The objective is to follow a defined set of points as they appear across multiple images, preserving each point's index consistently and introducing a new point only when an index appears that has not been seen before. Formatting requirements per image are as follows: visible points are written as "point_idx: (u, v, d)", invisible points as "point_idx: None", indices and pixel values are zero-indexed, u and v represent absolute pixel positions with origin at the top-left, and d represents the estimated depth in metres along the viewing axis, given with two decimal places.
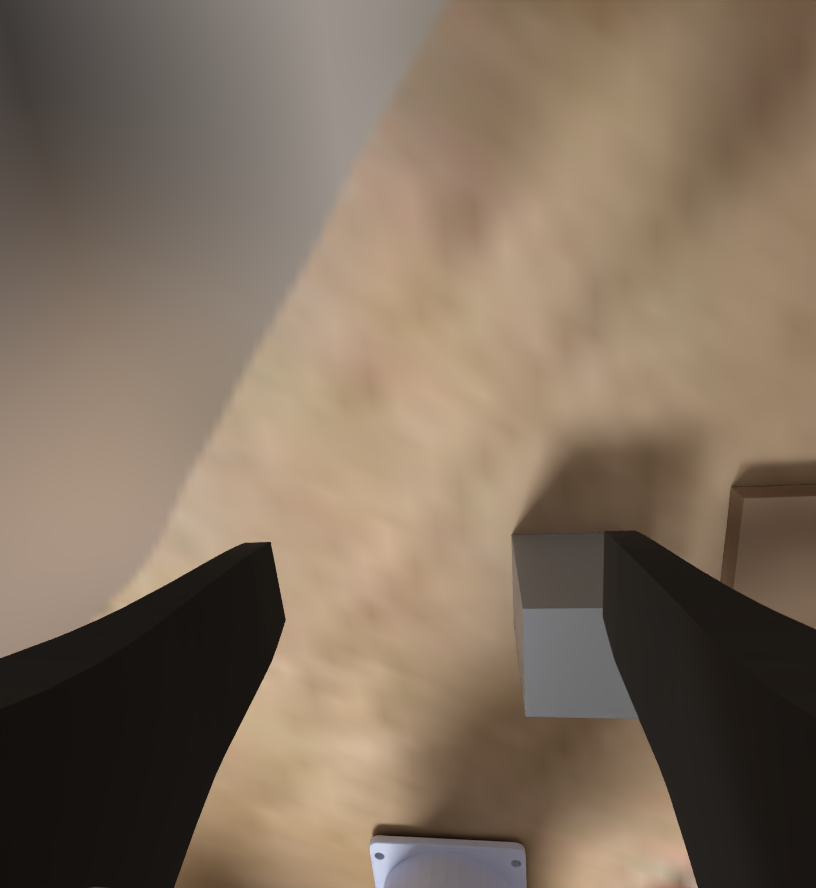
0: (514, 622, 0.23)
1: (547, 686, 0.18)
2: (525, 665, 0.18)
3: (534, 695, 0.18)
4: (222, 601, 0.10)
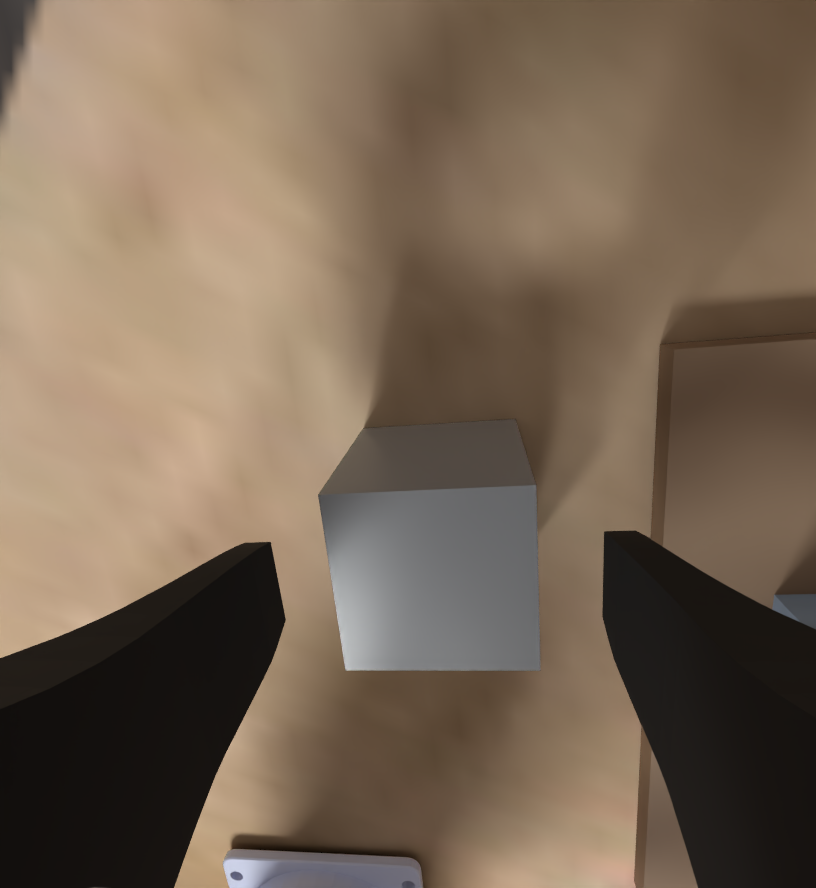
0: None
1: (370, 621, 0.12)
2: (334, 588, 0.12)
3: (354, 636, 0.12)
4: (222, 601, 0.10)
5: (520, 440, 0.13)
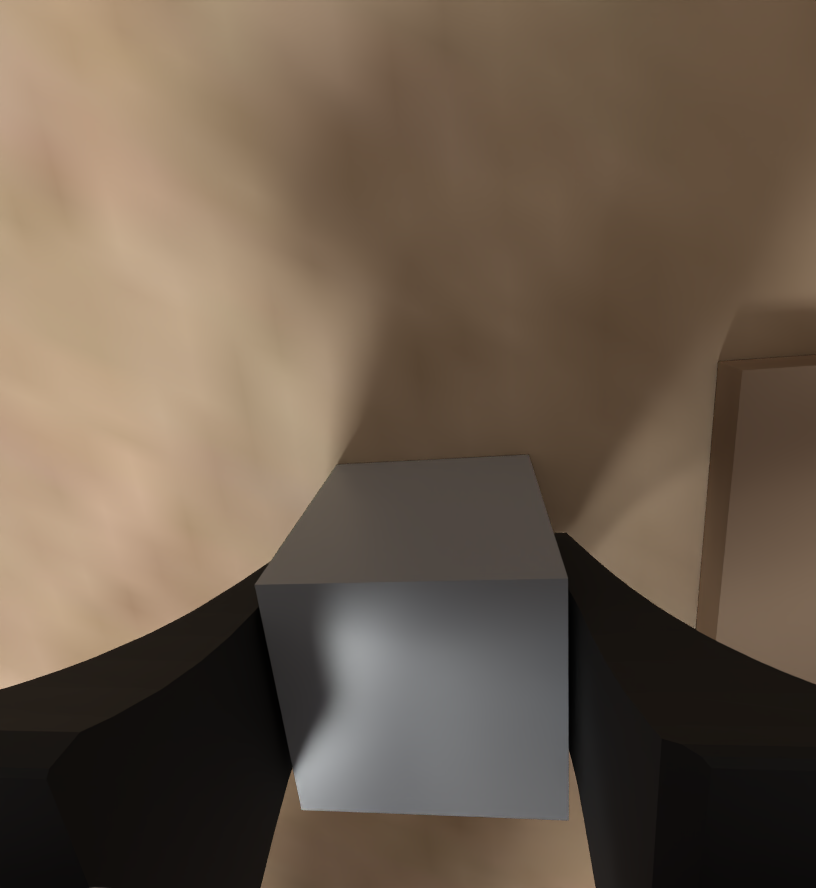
0: None
1: (333, 750, 0.08)
2: (282, 707, 0.08)
3: (311, 768, 0.09)
4: None
5: (538, 491, 0.10)
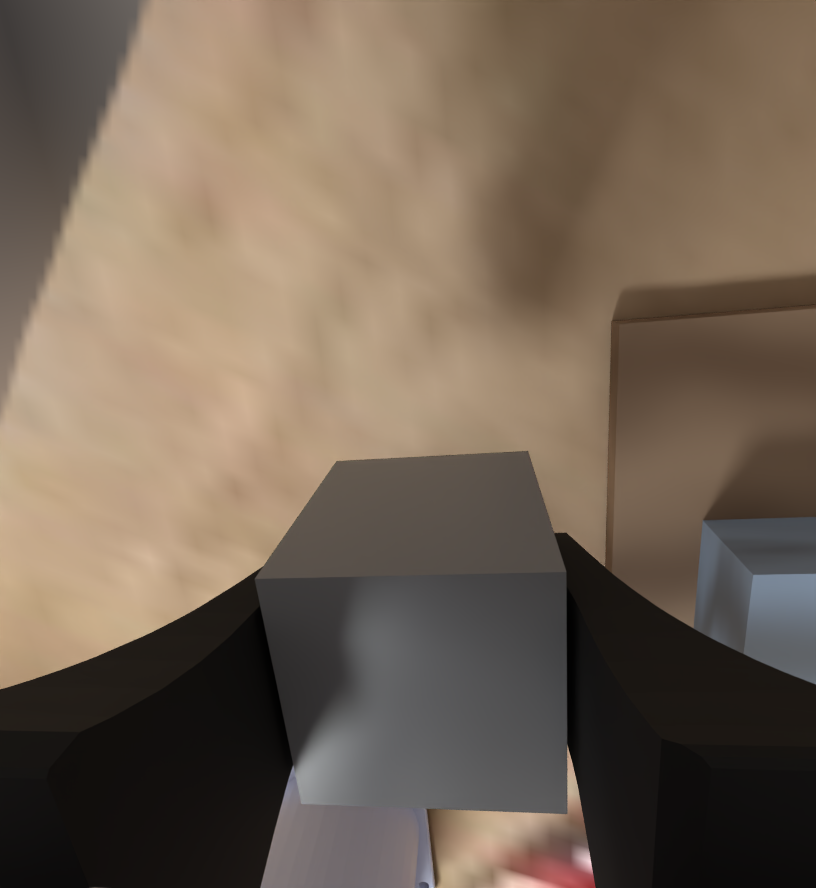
0: None
1: (334, 744, 0.09)
2: (282, 701, 0.08)
3: (311, 762, 0.09)
4: None
5: (537, 487, 0.10)
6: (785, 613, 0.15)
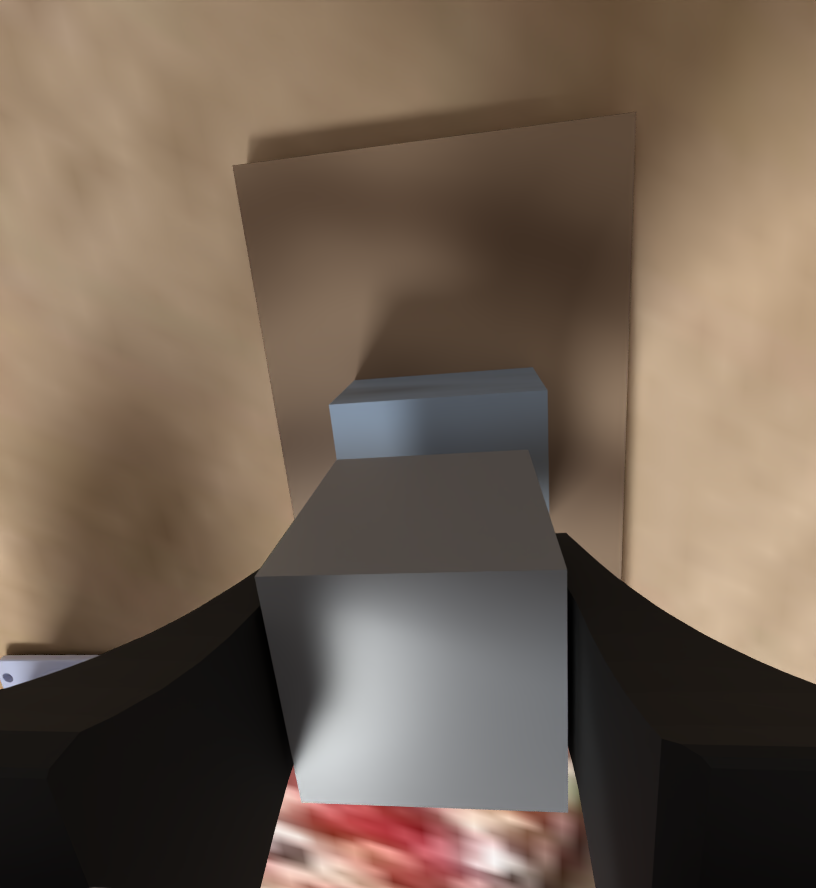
0: None
1: (333, 742, 0.08)
2: (282, 700, 0.08)
3: (311, 761, 0.09)
4: None
5: (537, 485, 0.10)
6: (369, 446, 0.15)
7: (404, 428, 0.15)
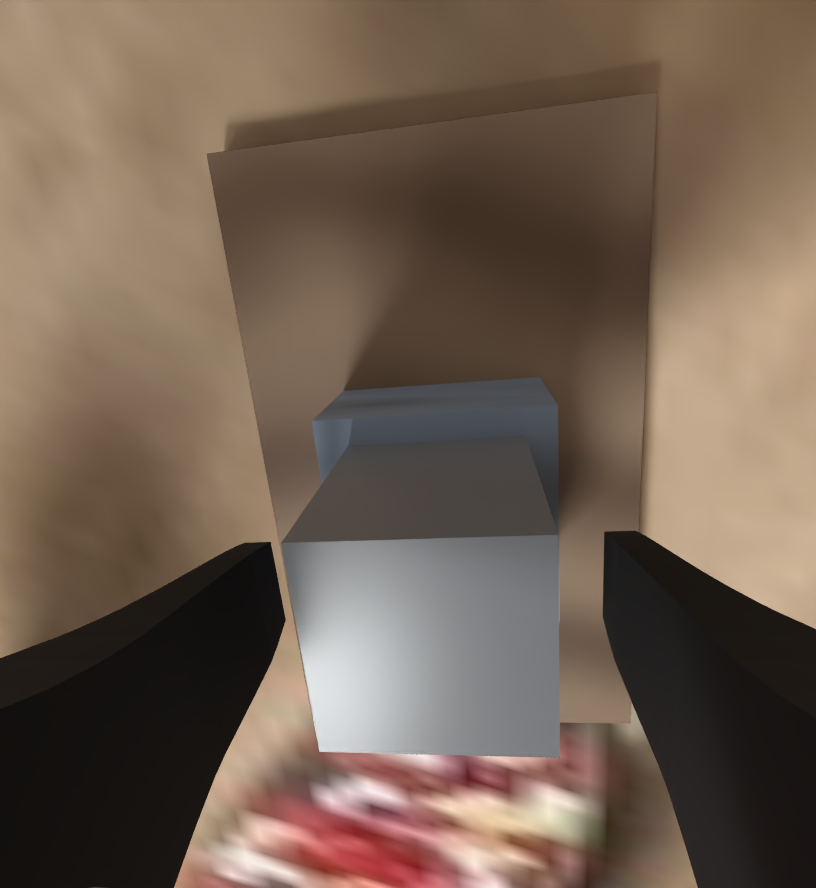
0: None
1: (349, 695, 0.09)
2: (304, 656, 0.09)
3: (329, 712, 0.10)
4: (222, 601, 0.10)
5: (533, 467, 0.11)
6: None
7: None
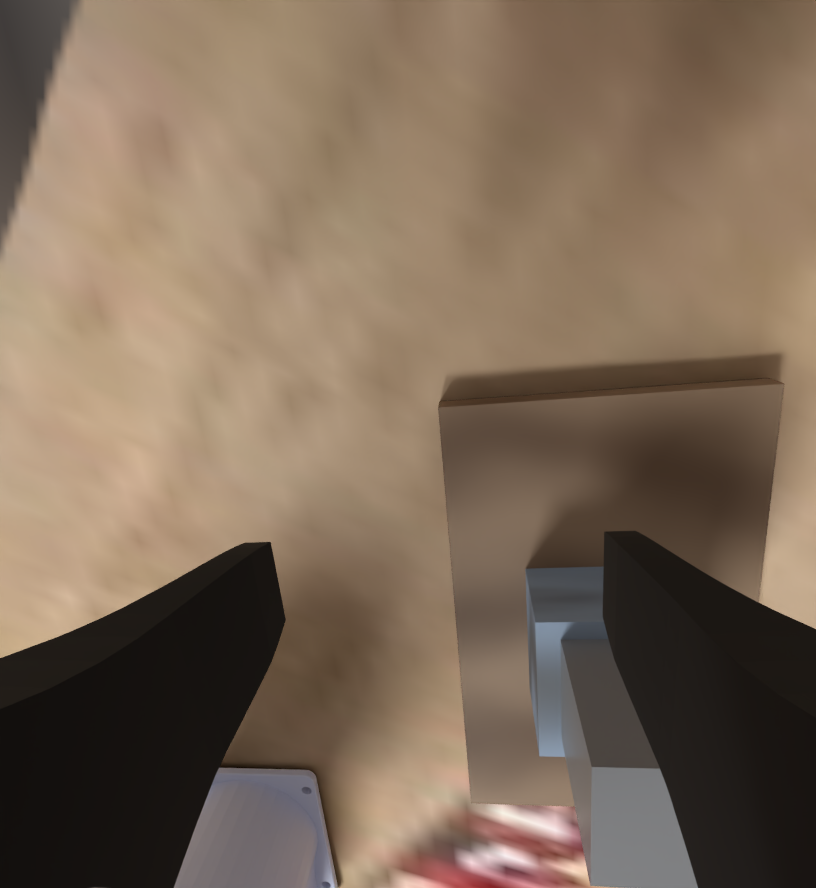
0: (563, 739, 0.19)
1: (619, 853, 0.14)
2: (592, 830, 0.14)
3: (602, 863, 0.15)
4: (222, 601, 0.10)
5: None
6: None
7: None
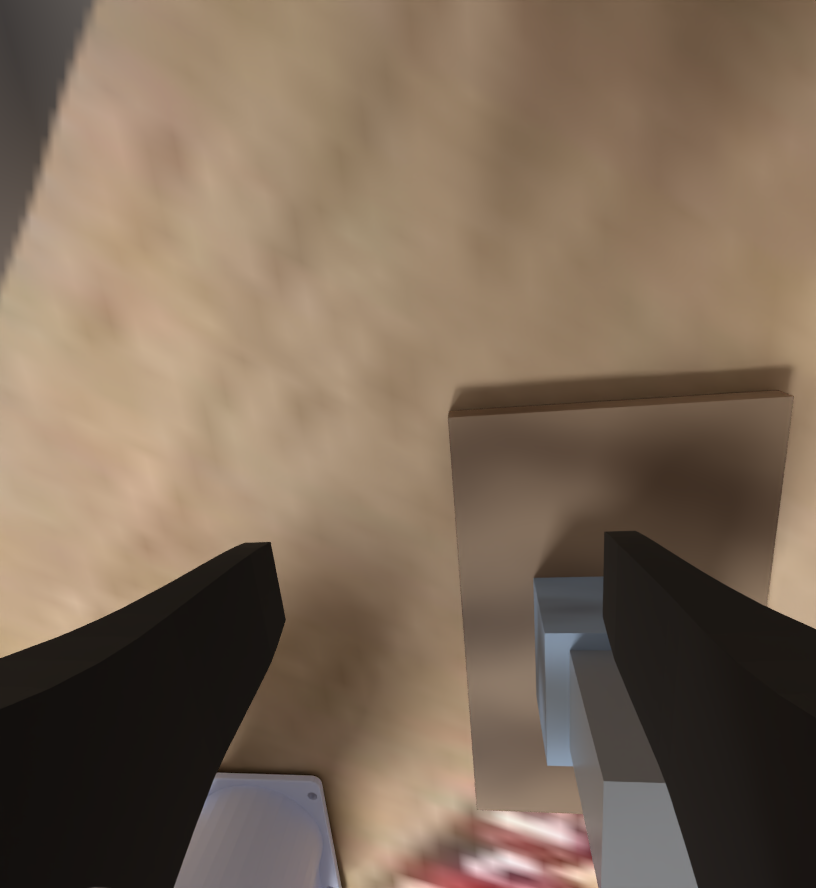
0: (571, 749, 0.19)
1: (629, 866, 0.15)
2: (603, 843, 0.14)
3: (613, 875, 0.15)
4: (222, 601, 0.10)
5: None
6: None
7: None
